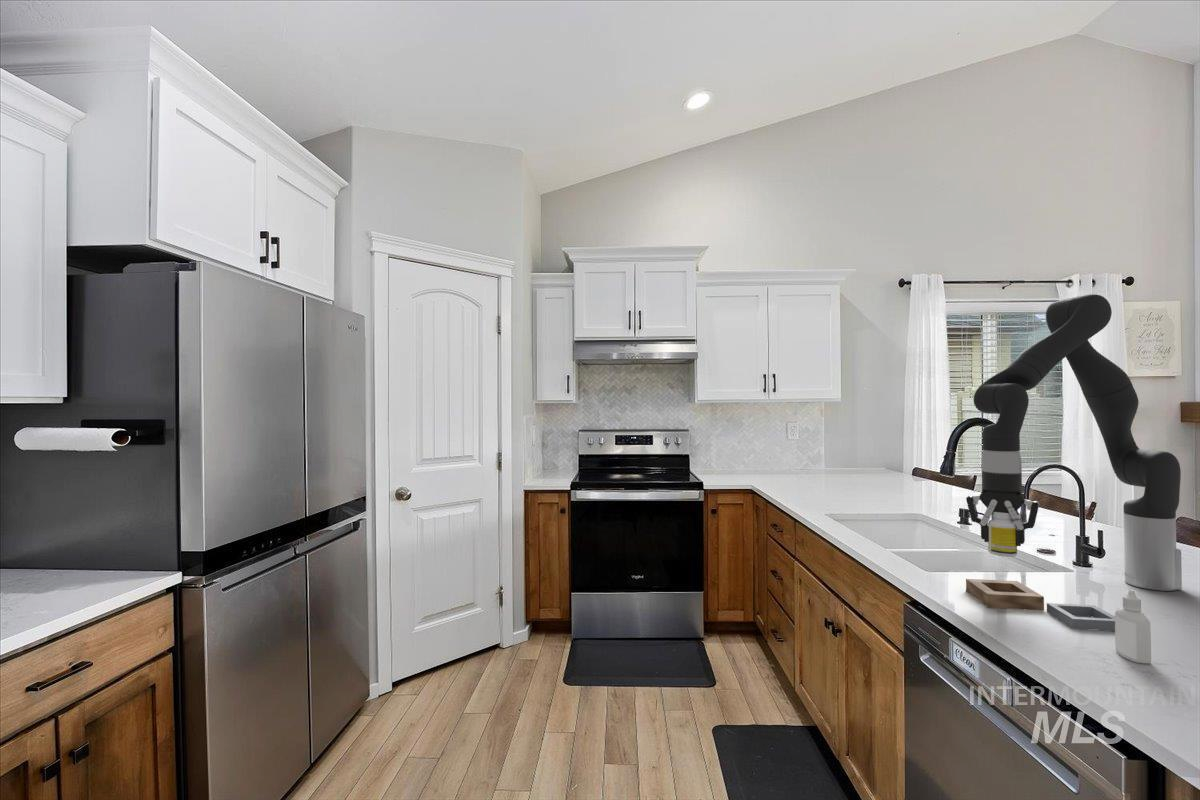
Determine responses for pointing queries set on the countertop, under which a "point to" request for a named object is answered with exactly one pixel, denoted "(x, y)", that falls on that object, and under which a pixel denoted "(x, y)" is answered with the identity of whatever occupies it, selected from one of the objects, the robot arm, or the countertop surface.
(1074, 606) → the holder
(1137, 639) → the eye dropper bottle
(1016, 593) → the socket block
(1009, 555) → the supplement bottle
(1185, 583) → the countertop surface
